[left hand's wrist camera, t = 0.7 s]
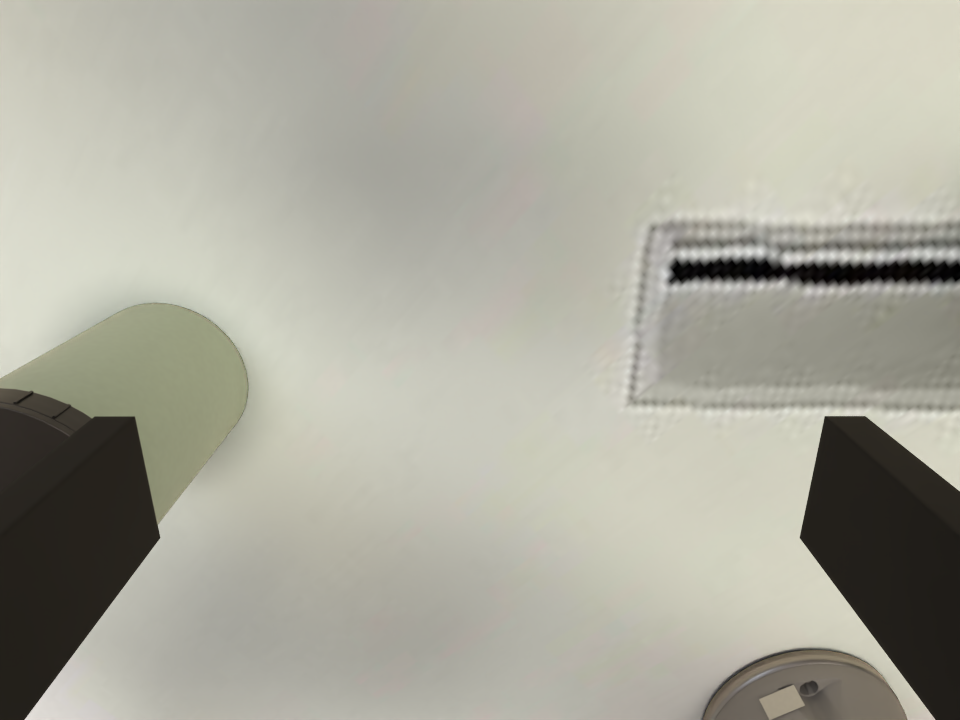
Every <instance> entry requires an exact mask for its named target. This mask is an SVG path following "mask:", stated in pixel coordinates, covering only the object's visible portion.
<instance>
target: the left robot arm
mask: <svg viewBox="0 0 960 720" xmlns="http://www.w3.org/2000/svg"><path fill="white" fill-rule="evenodd" d="M159 539H160V534H159V530H158V525H157V520H156V515H155V510H154V506H153V501H152V496H151V491H150V486H149V481H148V477H147V472H146V467H145V462H144V457H143V452H142V448H141V443H140V438H139V433H138V428H137V424H136V419H135V416H95V417H93V418H92V419H91V420H90V421H88V422H87V423H86V424H85V425H83V426H82V427H81V428H80V429H78V430H77V431H76V432H75V433H73V434H72V435H71V436H70V437H68V438H67V439H66V440H64V441H63V442H62V443H61V444H59V445H58V446H57V447H56V448H54V449H53V450H52V451H51V452H49V453H48V454H47V455H46V456H44V457H43V458H42V459H41V460H39V461H38V462H37V463H36V464H34V465H33V466H32V467H31V468H29V469H28V470H27V471H26V472H24V473H23V474H22V475H21V476H19V477H18V478H17V479H16V480H14V481H13V482H12V483H10V484H9V485H8V486H7V487H5V488H4V489H3V490H2V491H0V720H25V718H26V717H27V715H28V714H29V713H30V711H31V710H32V709H33V707H34V706H35V705H36V703H37V702H38V701H39V699H40V698H41V697H42V695H43V694H44V693H45V691H46V690H47V689H48V687H49V686H50V685H51V683H52V682H53V681H54V679H55V678H56V677H57V675H58V674H59V673H60V671H61V670H62V669H63V667H64V666H65V665H66V663H67V662H68V661H69V659H70V658H71V657H72V655H73V654H74V653H75V651H76V650H77V649H78V647H79V646H80V645H81V643H82V642H83V640H84V639H85V638H86V636H87V635H88V634H89V632H90V631H91V630H92V628H93V627H94V626H95V624H96V623H97V622H98V620H99V619H100V618H101V616H102V615H103V614H104V612H105V611H106V610H107V608H108V607H109V606H110V604H111V603H112V602H113V600H114V599H115V598H116V596H117V595H118V594H119V592H120V591H121V590H122V588H123V587H124V586H125V584H126V583H127V582H128V580H129V579H130V578H131V576H132V575H133V574H134V572H135V571H136V570H137V568H138V567H139V566H140V564H141V563H142V561H143V560H144V559H145V557H146V556H147V555H148V553H149V552H150V551H151V549H152V548H153V547H154V545H155V544H156V543H157V541H158V540H159ZM800 539H801V540H802V541H803V543H804V544H805V545H806V547H807V548H808V549H809V551H810V552H811V553H812V555H813V556H814V557H815V559H816V560H817V561H818V563H819V564H820V566H821V567H822V568H823V570H824V571H825V572H826V574H827V575H828V576H829V578H830V579H831V580H832V582H833V583H834V584H835V586H836V587H837V588H838V590H839V591H840V592H841V594H842V595H843V596H844V598H845V599H846V600H847V602H848V603H849V604H850V606H851V607H852V608H853V610H854V611H855V612H856V614H857V615H858V616H859V618H860V619H861V620H862V622H863V623H864V624H865V626H866V627H867V628H868V630H869V631H870V632H871V634H872V635H873V636H874V638H875V639H876V641H877V642H878V643H879V645H880V646H881V647H882V649H883V650H884V651H885V653H886V654H887V655H888V657H889V658H890V659H891V661H892V662H893V663H894V665H895V666H896V667H897V669H898V670H899V671H900V673H901V674H902V675H903V677H904V678H905V679H906V681H907V682H908V683H909V685H910V686H911V687H912V689H913V690H914V691H915V693H916V694H917V695H918V697H919V698H920V699H921V701H922V702H923V703H924V705H925V706H926V707H927V709H928V710H929V711H930V713H931V714H932V715H933V717H934V718H935V720H960V491H958V490H957V489H956V488H955V487H953V486H952V485H951V484H950V483H948V482H947V481H946V480H944V479H943V478H942V477H941V476H939V475H938V474H937V473H936V472H934V471H933V470H932V469H931V468H929V467H928V466H927V465H926V464H924V463H923V462H922V461H921V460H919V459H918V458H917V457H916V456H914V455H913V454H912V453H911V452H909V451H908V450H907V449H906V448H904V447H903V446H902V445H901V444H899V443H898V442H897V441H896V440H894V439H893V438H892V437H890V436H889V435H888V434H887V433H885V432H884V431H883V430H882V429H880V428H879V427H878V426H877V425H875V424H874V423H873V422H872V421H870V420H869V419H868V418H867V417H865V416H825V419H824V424H823V428H822V433H821V438H820V443H819V448H818V452H817V457H816V462H815V467H814V472H813V477H812V481H811V486H810V491H809V496H808V501H807V506H806V510H805V515H804V520H803V525H802V530H801V534H800Z"/></svg>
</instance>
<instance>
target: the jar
mask: <svg viewBox="0 0 960 720" xmlns="http://www.w3.org/2000/svg"><path fill="white" fill-rule="evenodd" d="M0 388H6V389H18V390H24V391H33V392H34V393H38V394H41V395H45V396H48V397H51V398H54V399H56V400H59V401H61V402H63V403H66V404H70V405H71V406H72V407H74V408H76V409H78V410H79V411H81V412H83V413H85V414H86V415H88V416H89V417H91V418H93V417H95V416H135V419H136V424H137V428H138V433H139V438H140V443H141V448H142V452H143V457H144V462H145V467H146V472H147V477H148V481H149V486H150V491H151V496H152V501H153V506H154V510H155V515H156V520H157V525H158V524H159V523H160V521H161V520H162V519H163V517H164V516H165V515H166V514H167V512H168V511H169V510H170V508H171V507H172V506H173V505H174V503H175V502H176V501H177V499H178V498H179V497H180V496H181V494H182V493H183V492H184V490H185V489H186V488H187V486H188V485H189V484H190V483H191V481H192V480H193V479H194V477H195V476H196V475H197V474H198V472H199V471H200V470H201V468H202V467H203V466H204V465H205V463H206V462H207V461H208V459H209V458H210V457H211V456H212V454H213V453H214V452H215V450H216V449H217V448H218V447H219V445H220V444H221V443H222V441H223V440H224V439H225V438H226V436H227V435H228V434H229V432H230V431H231V430H232V429H233V427H234V426H235V425H236V423H237V422H238V420H239V419H240V417H241V415H242V413H243V411H244V408H245V405H246V401H247V396H248V379H247V374H246V369H245V367H244V364H243V361H242V359H241V356H240V354H239V352H238V351H237V349H236V348H235V346H234V344H233V343H232V342H231V340H230V339H229V338H228V337H227V336H226V334H225V333H224V332H223V331H221V330H220V329H219V328H218V327H217V326H216V325H215V324H213V323H212V322H211V321H209V320H208V319H206V318H205V317H203V316H201V315H199V314H198V313H195V312H193V311H191V310H189V309H186V308H182V307H179V306H175V305H170V304H162V303H148V304H141V305H135V306H132V307H129V308H126V309H124V310H122V311H120V312H118V313H116V314H114V315H113V316H111V317H109V318H107V319H106V320H104V321H102V322H100V323H98V324H97V325H95V326H93V327H91V328H90V329H88V330H86V331H84V332H82V333H81V334H79V335H77V336H75V337H73V338H72V339H70V340H68V341H66V342H65V343H63V344H61V345H59V346H57V347H56V348H54V349H52V350H50V351H48V352H47V353H45V354H43V355H41V356H40V357H38V358H36V359H34V360H32V361H31V362H29V363H27V364H25V365H24V366H22V367H20V368H18V369H16V370H15V371H13V372H11V373H9V374H7V375H6V376H4V377H2V378H0Z"/></svg>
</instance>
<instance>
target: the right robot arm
mask: <svg viewBox="0 0 960 720" xmlns="http://www.w3.org/2000/svg"><path fill="white" fill-rule="evenodd" d="M703 720H907V717H906V714H905V712H904V710H903V708H902V706H901V704H900V702H899V700H898V698H897V696H896V695H895V693H894V692H893V691H892V689H891V688H890V686H889V685H888V684H887V682H886V681H885V679H884V678H883V677H882V676H881V675H880V673H879V672H878V671H876V670H875V669H874V668H873V667H871V666H870V665H868V664H867V663H865V662H863V661H862V660H860V659H857V658H855V657H852V656H850V655H846V654H843V653H838V652H833V651H825V650H803V651H795V652H789V653H784V654H780V655H776V656H773V657H770V658H767V659H764V660H762V661H760V662H757V663H755V664H753V665H751V666H749V667H747V668H746V669H744V670H742V671H741V672H739V673H738V674H736V675H735V676H734V677H732V678H731V679H730V680H729V681H728V682H727V683H725V684H724V685H723V686H722V688H721V689H720V690H719V691H718V692H717V693H716V695H715V696H714V697H713V699H712V700H711V702H710V703H709V705H708V707H707V709H706V712H705V715H704V718H703Z"/></svg>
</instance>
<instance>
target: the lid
mask: <svg viewBox="0 0 960 720" xmlns="http://www.w3.org/2000/svg"><path fill="white" fill-rule="evenodd" d="M91 419H92V418H91V417H89V416H88V415H86V414H85V413H83V412H81V411H79V410H78V409H76V408H74V407H72V406H71V405H70V404H66V403H63V402H61V401H59V400H56V399H54V398H51V397H48V396H45V395H41V394H38V393H34V392H33V391H24V390H18V389H6V388H0V491H2V490H3V489H4V488H5V487H7V486H8V485H9V484H10V483H12V482H13V481H14V480H16V479H17V478H18V477H19V476H21V475H22V474H23V473H24V472H26V471H27V470H28V469H29V468H31V467H32V466H33V465H34V464H36V463H37V462H38V461H39V460H41V459H42V458H43V457H44V456H46V455H47V454H48V453H49V452H51V451H52V450H53V449H54V448H56V447H57V446H58V445H59V444H61V443H62V442H63V441H64V440H66V439H67V438H68V437H70V436H71V435H72V434H73V433H75V432H76V431H77V430H78V429H80V428H81V427H82V426H83V425H85V424H86V423H87V422H88V421H90V420H91Z"/></svg>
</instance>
